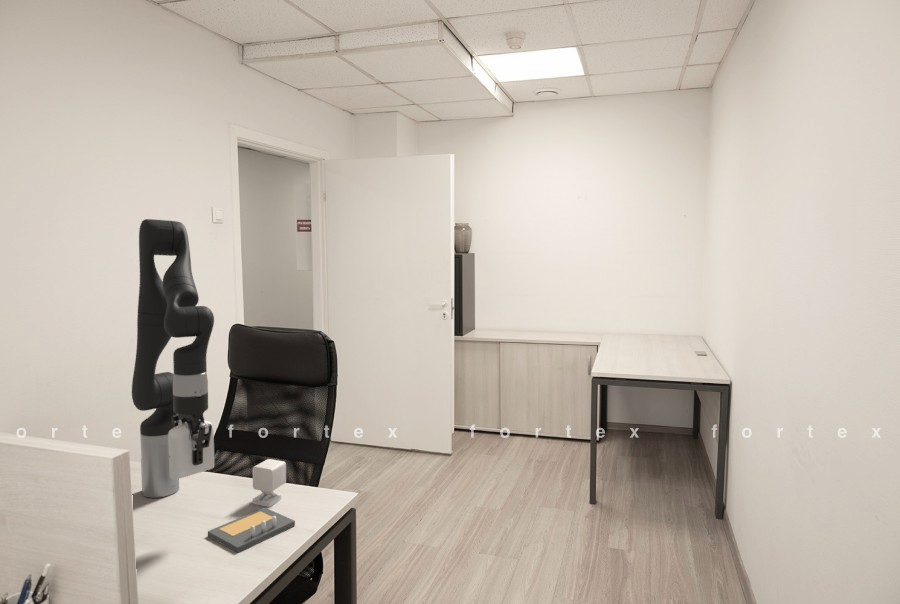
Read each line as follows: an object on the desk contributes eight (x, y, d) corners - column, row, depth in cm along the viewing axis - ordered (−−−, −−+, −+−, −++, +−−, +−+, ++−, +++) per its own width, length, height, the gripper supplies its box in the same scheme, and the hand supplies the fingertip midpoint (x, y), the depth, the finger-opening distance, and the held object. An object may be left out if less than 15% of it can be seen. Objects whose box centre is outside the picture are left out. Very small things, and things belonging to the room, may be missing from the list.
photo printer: (174, 481, 132) (173, 429, 131) (166, 476, 135) (164, 424, 134) (217, 468, 140) (216, 419, 139) (208, 464, 143) (207, 415, 141)
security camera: (286, 496, 159) (286, 461, 158) (270, 507, 153) (270, 470, 152) (267, 493, 161) (266, 458, 160) (250, 503, 155) (250, 467, 154)
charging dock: (207, 536, 137) (207, 521, 137) (264, 511, 150) (264, 498, 150) (237, 552, 130) (237, 536, 130) (294, 525, 143) (294, 511, 143)
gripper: (159, 388, 136) (160, 458, 138) (192, 400, 128) (193, 474, 130) (189, 383, 142) (190, 450, 144) (222, 393, 134) (223, 464, 136)
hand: (191, 461), depth 137 cm, fingers closed on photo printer, 4 cm apart
